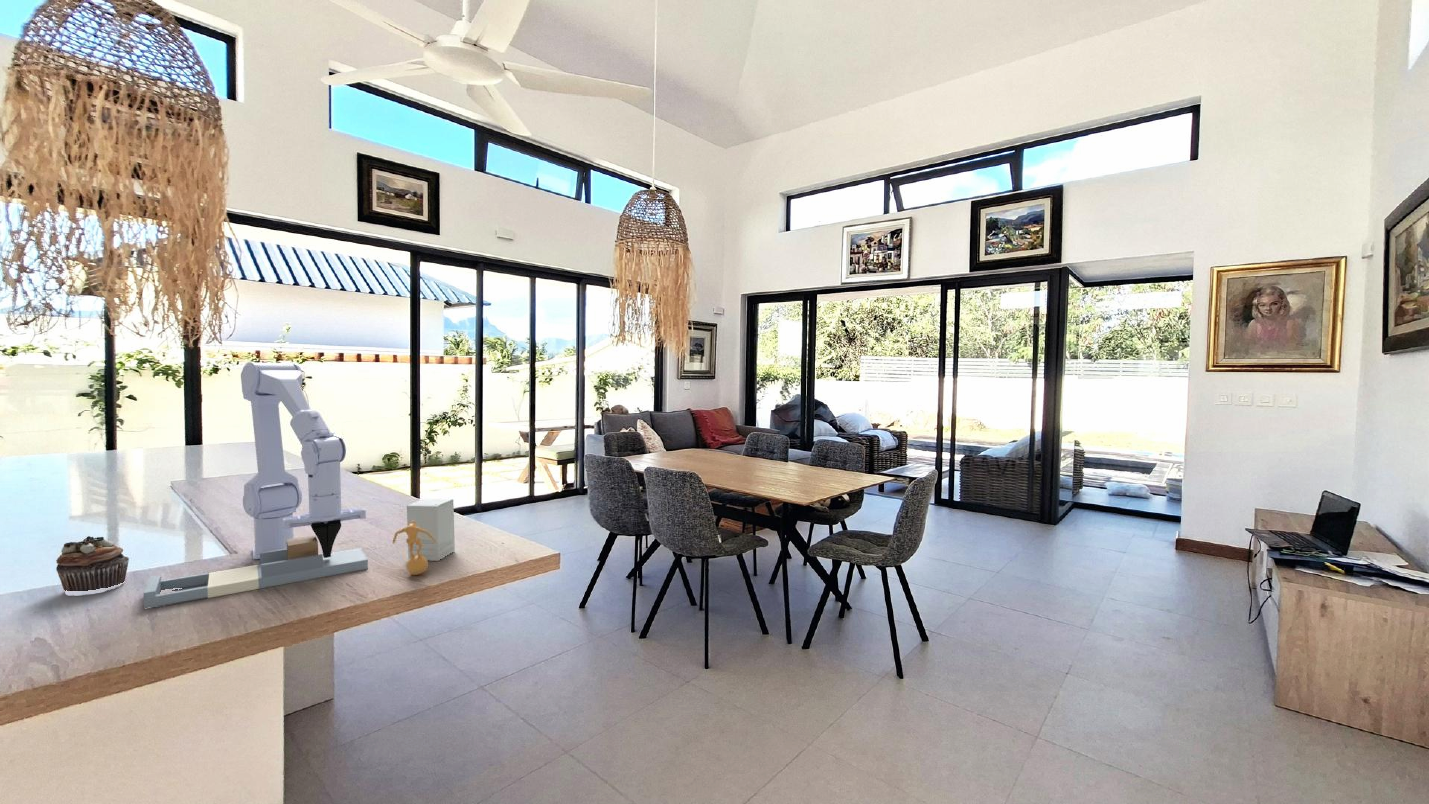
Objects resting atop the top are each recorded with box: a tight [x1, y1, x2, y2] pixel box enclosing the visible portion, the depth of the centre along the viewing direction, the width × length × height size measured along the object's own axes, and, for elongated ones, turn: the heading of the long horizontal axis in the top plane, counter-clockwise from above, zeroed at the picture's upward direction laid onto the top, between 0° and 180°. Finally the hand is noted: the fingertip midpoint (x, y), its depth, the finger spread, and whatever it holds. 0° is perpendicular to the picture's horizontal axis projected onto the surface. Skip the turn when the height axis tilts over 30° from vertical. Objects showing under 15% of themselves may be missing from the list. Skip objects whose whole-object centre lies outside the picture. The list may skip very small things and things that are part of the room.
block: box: [286, 535, 319, 560], centre depth 122 cm, size 5×5×5 cm
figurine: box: [392, 520, 436, 576], centre depth 121 cm, size 8×6×12 cm
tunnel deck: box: [143, 547, 369, 608], centre depth 118 cm, size 10×34×4 cm, turn 129°
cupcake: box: [55, 535, 130, 591], centre depth 112 cm, size 10×10×10 cm
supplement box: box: [406, 497, 456, 562], centre depth 134 cm, size 7×7×13 cm
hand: (326, 556), depth 124 cm, fingers closed
